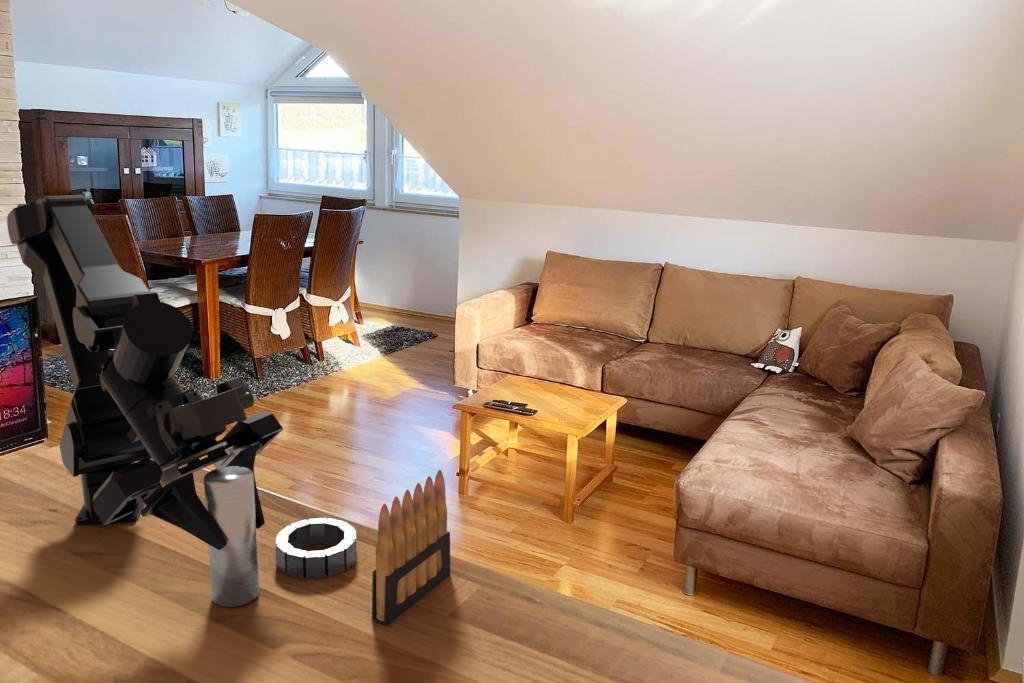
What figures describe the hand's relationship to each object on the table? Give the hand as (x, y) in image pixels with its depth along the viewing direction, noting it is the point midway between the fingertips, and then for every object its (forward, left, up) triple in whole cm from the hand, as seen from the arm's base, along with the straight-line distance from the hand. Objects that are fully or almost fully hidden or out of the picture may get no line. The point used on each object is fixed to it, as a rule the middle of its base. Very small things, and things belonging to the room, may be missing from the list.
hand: (242, 536), depth 81 cm
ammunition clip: (+1, +16, -7) cm, 18 cm away
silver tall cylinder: (-1, -1, -7) cm, 7 cm away
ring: (-7, +6, -7) cm, 12 cm away
